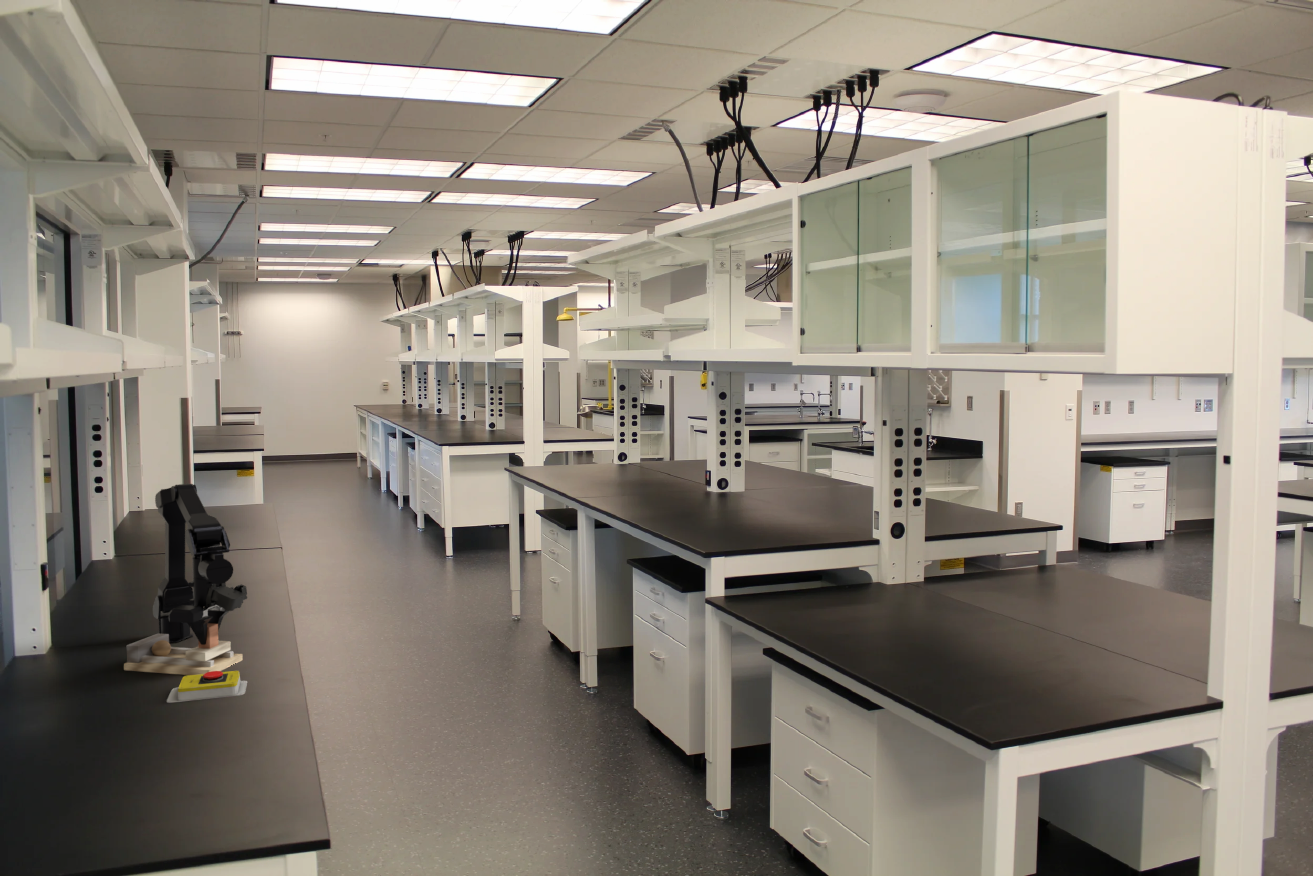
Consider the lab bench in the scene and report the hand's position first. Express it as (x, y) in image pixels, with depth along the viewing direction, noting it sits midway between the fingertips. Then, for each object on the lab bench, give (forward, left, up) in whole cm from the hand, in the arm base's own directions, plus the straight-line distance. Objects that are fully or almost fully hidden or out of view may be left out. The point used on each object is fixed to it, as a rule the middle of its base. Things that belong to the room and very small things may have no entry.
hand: (208, 642), depth 212 cm
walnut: (-12, 0, -4) cm, 13 cm away
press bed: (-6, 0, -6) cm, 9 cm away
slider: (0, 0, -3) cm, 3 cm away
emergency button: (+11, -15, -7) cm, 19 cm away
